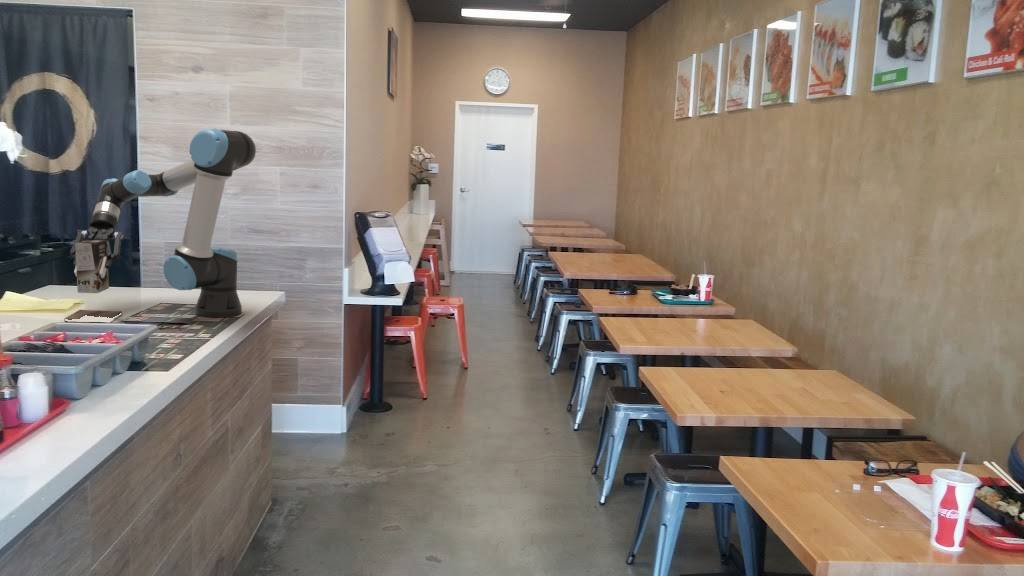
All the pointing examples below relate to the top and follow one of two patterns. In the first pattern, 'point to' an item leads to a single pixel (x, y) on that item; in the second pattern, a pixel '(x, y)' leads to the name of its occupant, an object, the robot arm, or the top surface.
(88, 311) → the walnut board
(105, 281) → the coffee box
